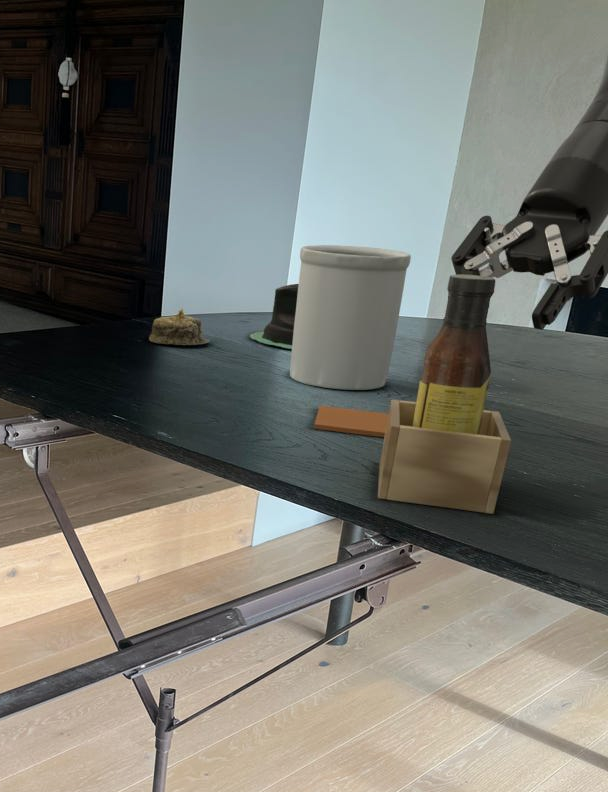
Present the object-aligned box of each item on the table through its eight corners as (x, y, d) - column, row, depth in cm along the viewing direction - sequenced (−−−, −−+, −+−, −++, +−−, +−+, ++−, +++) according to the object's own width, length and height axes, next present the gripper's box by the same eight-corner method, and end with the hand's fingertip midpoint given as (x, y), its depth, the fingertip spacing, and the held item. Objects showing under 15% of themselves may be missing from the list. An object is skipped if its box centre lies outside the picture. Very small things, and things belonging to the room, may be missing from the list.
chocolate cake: (360, 331, 177) (387, 356, 160) (264, 375, 181) (279, 405, 164) (332, 250, 171) (356, 267, 153) (232, 298, 175) (245, 320, 157)
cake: (148, 349, 157) (147, 313, 154) (149, 339, 166) (148, 305, 163) (211, 348, 156) (211, 313, 154) (208, 338, 165) (209, 304, 163)
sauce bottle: (479, 497, 96) (530, 282, 87) (427, 501, 94) (473, 281, 85) (437, 476, 102) (481, 272, 93) (387, 480, 100) (426, 271, 91)
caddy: (483, 479, 102) (499, 411, 99) (493, 514, 92) (511, 440, 89) (379, 465, 104) (391, 399, 101) (377, 498, 94) (391, 425, 91)
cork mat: (400, 419, 123) (400, 415, 123) (400, 439, 114) (401, 434, 114) (319, 410, 125) (319, 405, 125) (313, 429, 116) (314, 423, 116)
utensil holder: (275, 383, 137) (293, 248, 130) (292, 364, 150) (309, 241, 142) (383, 397, 134) (408, 259, 126) (390, 376, 147) (413, 250, 139)
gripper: (505, 149, 97) (418, 276, 95) (652, 158, 88) (560, 299, 86) (517, 209, 103) (436, 330, 101) (657, 223, 94) (571, 356, 92)
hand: (494, 315), depth 94 cm, fingers open, 8 cm apart
